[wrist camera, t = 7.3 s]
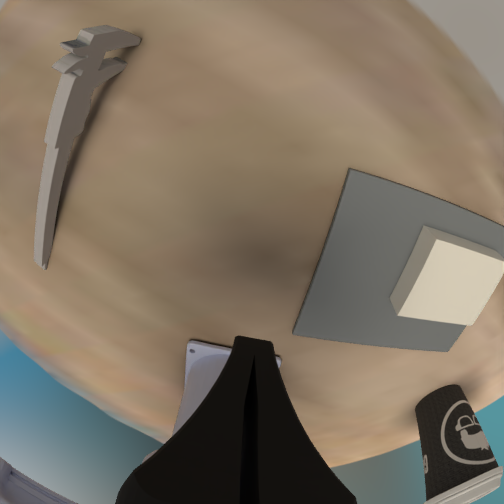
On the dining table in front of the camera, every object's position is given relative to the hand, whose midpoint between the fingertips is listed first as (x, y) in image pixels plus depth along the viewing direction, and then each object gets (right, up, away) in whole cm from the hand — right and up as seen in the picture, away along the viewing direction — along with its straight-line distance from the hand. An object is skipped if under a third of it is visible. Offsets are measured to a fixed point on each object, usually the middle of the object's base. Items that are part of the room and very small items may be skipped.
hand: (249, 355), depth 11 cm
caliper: (-13, +10, +7) cm, 17 cm away
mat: (+12, +2, +9) cm, 15 cm away
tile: (+11, +3, +7) cm, 13 cm away
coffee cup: (+23, -14, +17) cm, 32 cm away
